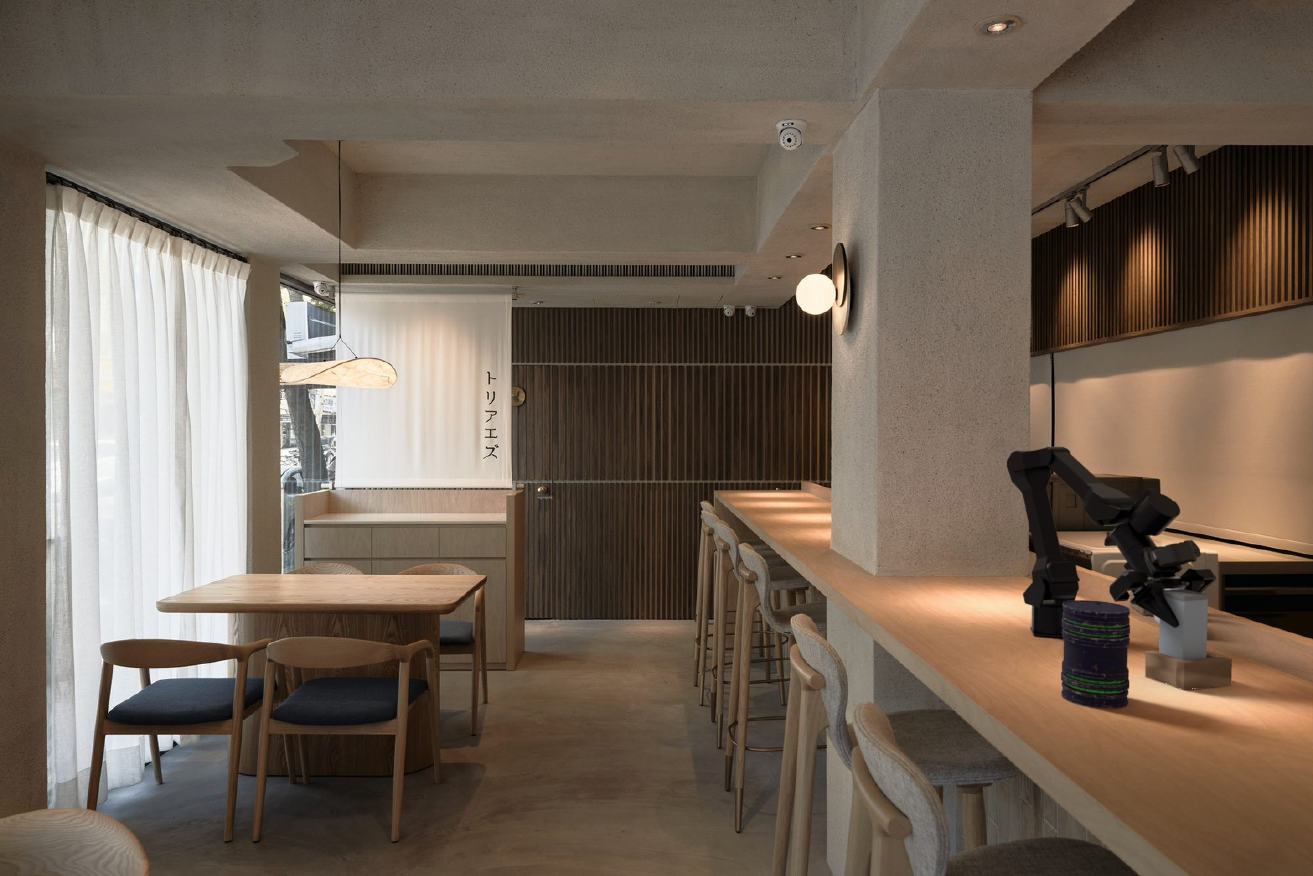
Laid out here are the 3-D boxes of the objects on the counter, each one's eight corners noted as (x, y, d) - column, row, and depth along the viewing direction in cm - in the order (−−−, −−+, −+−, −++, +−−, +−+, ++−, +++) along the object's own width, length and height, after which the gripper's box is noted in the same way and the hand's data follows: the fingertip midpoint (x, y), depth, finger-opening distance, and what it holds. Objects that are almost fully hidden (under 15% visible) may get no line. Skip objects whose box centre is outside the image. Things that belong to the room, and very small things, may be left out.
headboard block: (1145, 676, 154) (1145, 651, 154) (1191, 672, 157) (1191, 647, 157) (1183, 690, 147) (1184, 663, 147) (1231, 685, 149) (1231, 659, 149)
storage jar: (1126, 713, 135) (1128, 615, 135) (1056, 702, 140) (1057, 608, 140) (1131, 696, 143) (1132, 604, 143) (1065, 686, 149) (1066, 597, 148)
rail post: (1157, 658, 155) (1159, 590, 154) (1181, 656, 156) (1183, 589, 156) (1182, 666, 150) (1184, 596, 149) (1207, 664, 151) (1208, 594, 151)
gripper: (1123, 525, 154) (1174, 602, 143) (1208, 523, 159) (1264, 596, 148) (1088, 563, 161) (1134, 638, 151) (1171, 559, 166) (1221, 632, 156)
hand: (1189, 625), depth 151 cm, fingers closed on rail post, 5 cm apart
